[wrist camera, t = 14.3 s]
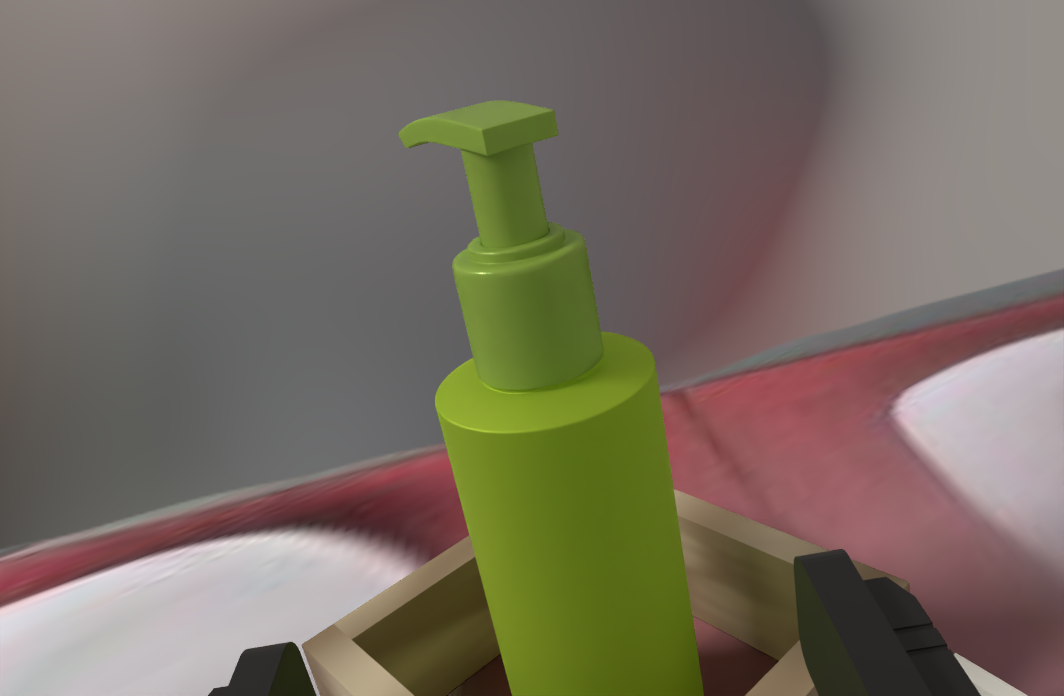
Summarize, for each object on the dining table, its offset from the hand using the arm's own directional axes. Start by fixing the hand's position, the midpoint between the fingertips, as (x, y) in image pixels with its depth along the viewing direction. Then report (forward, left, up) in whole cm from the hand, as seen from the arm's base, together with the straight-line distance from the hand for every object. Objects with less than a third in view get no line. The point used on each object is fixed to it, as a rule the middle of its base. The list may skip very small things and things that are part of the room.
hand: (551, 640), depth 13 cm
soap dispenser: (-8, +7, -13) cm, 17 cm away
